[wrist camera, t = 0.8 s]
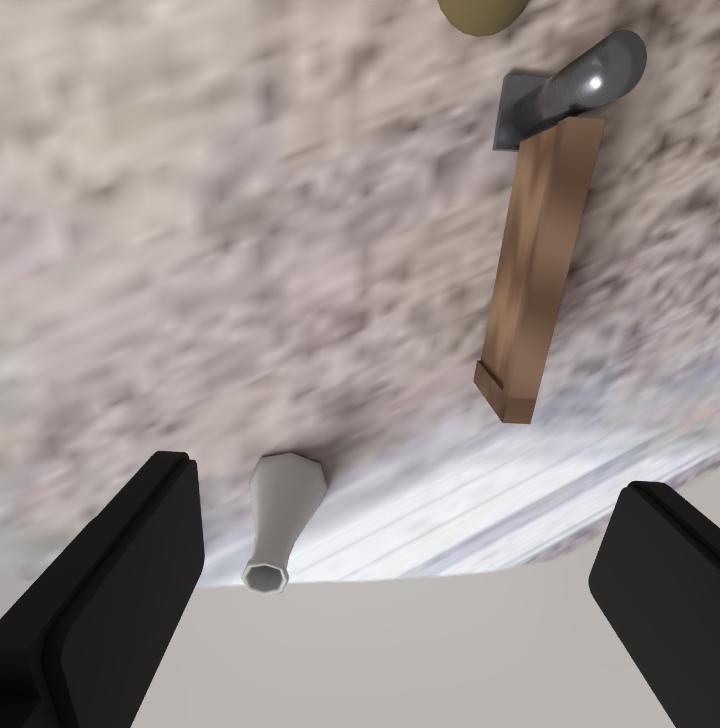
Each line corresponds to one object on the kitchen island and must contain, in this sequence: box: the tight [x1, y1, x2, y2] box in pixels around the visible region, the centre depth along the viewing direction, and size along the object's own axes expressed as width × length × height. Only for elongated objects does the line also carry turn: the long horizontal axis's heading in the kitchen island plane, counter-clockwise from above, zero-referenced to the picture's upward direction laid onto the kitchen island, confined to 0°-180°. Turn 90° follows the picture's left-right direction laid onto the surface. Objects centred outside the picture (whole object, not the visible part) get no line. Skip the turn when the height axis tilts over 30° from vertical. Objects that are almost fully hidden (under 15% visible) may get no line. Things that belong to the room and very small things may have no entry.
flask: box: [241, 453, 328, 596], centre depth 30 cm, size 7×7×10 cm
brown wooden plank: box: [474, 117, 606, 424], centre depth 24 cm, size 17×2×6 cm, turn 177°
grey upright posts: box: [493, 30, 647, 152], centre depth 20 cm, size 7×19×9 cm, turn 87°
